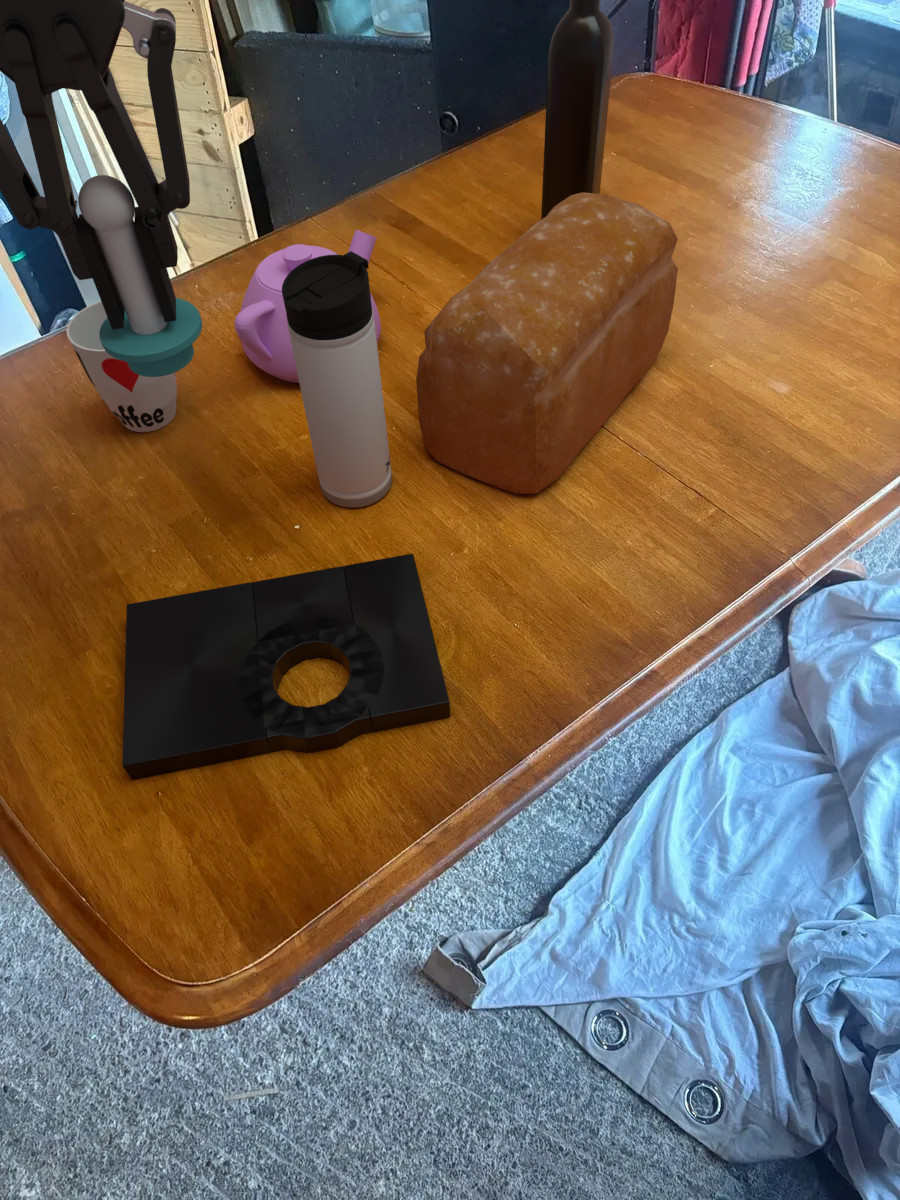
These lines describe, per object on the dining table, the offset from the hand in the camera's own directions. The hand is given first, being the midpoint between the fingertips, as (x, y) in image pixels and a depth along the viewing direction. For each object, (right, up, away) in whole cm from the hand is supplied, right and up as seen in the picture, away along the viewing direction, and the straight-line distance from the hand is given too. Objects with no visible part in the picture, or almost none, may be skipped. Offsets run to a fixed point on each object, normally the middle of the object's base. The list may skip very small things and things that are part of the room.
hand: (144, 313), depth 60 cm
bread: (+30, 0, +24) cm, 38 cm away
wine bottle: (+34, +22, +42) cm, 58 cm away
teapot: (+7, +7, +31) cm, 32 cm away
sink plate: (+8, -24, +6) cm, 26 cm away
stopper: (0, -2, +3) cm, 4 cm away
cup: (-8, -2, +25) cm, 26 cm away
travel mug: (+13, -9, +18) cm, 24 cm away
